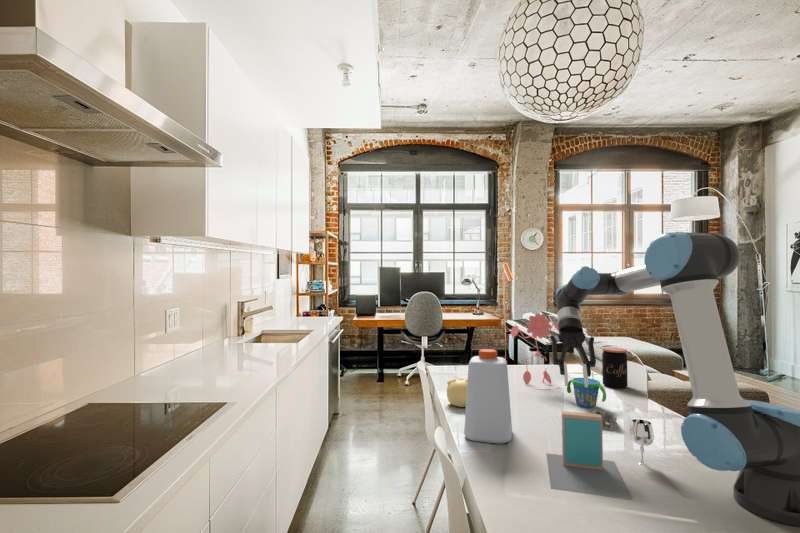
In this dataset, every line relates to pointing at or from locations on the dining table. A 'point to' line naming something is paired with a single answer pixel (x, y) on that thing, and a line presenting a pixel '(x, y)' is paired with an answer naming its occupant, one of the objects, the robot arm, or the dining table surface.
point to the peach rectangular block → (582, 440)
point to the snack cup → (586, 392)
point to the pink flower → (537, 328)
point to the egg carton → (605, 419)
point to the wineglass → (641, 434)
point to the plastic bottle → (488, 399)
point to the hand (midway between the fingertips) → (576, 384)
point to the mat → (587, 478)
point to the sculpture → (457, 392)
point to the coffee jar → (614, 367)
